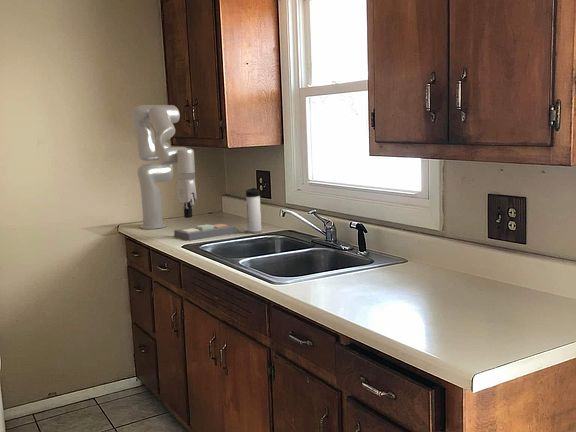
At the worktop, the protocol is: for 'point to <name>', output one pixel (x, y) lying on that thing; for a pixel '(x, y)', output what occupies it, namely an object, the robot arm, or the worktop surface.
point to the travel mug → (253, 210)
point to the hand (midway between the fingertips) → (188, 217)
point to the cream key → (189, 230)
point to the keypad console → (205, 233)
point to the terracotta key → (220, 225)
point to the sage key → (205, 227)
